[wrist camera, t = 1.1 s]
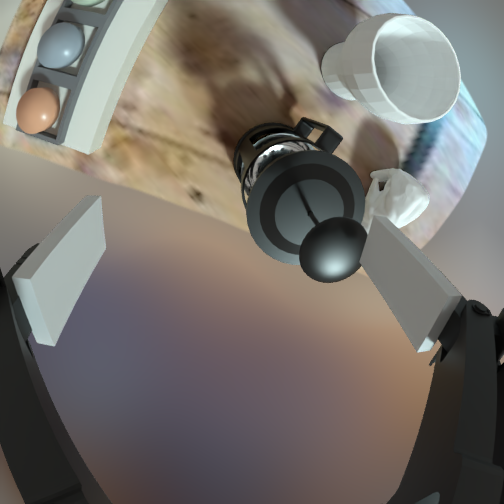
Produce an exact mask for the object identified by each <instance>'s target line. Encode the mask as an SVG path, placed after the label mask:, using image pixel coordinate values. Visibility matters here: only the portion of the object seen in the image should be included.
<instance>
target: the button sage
mask: <svg viewBox="0 0 504 504" xmlns="http://www.w3.org/2000/svg"><path fill="white" fill-rule="evenodd" d="M71 1H72V2H75V3H77V4H79V5H81V6H83V7H92V6H95V5H98V4H100V3H102V2H103V1H105V0H71Z"/></svg>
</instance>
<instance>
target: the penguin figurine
mask: <svg viewBox="0 0 504 504" xmlns="http://www.w3.org/2000/svg"><path fill="white" fill-rule="evenodd" d="M370 176H371V178H372V179H373V181H372V183H371V185H370V188H369V191H368V193H367V196H366V198H365V213H364V217H363V220H362V223H361V225H362V226H363V227H364V228H365V230H366V232H367V234H368V233H369V229H370V226H371V223H372V219H373V216H374V215H375V216H383V217H387V218H388V219H389V220H390V221H391V222H392V223H393V224H394V225H395V226H396V227H397V228H401V227H402V226H405V225H407V224H408V223H409V222H411V221H413V220H414V219H416V218H417V217H419V215H420V214H421V213H422V212H423V211H424V210H425V209H426V207H427V205H428V203H429V200H430V198H429V194H428V192H427V191H426V189H425V188H424V186H423V185H422V184H421V183H420V182H419V181H418V180H416V179H415V178H414V177H412V176H411V175H410V174H408V173H406V172H404V171H402V170H401V169H394V168H391V169H384V170H378V171H373V172H372V173H371V174H370ZM384 181H387V183H386V185H385V186H384V190H382V191H379V182H384Z"/></svg>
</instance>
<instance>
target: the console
mask: <svg viewBox="0 0 504 504" xmlns="http://www.w3.org/2000/svg"><path fill="white" fill-rule="evenodd" d="M167 2H168V0H105V1H103V2H102V3H100V4H98V5H95V6H92V7H83V6H81V5H79V4H77V3H75V2H72V1H71V0H47V2H46V4H45V6H44V8H43V10H42V12H41V14H40V17H39V19H38V21H37V23H36V25H35V27H34V30H33V32H32V34H31V37H30V39H29V42H28V44H27V47H26V49H25V52H24V54H23V57H22V60H21V63H20V65H19V68H18V71H17V74H16V77H15V80H14V84H13V87H12V90H11V94H10V97H9V101H8V105H7V109H6V113H5V117H4V121H3V124H6V125H9V126H12V127H15V128H16V130H17V131H20V132H23V133H25V132H24V131H23V130H22V129H21V128H20V127H19V125H18V123H17V119H16V109H17V105H18V102H19V100H20V98H21V97H22V95H23V94H24V93H25V92H27V91H28V90H30V89H32V88H41V87H48V88H51V89H53V90H54V91H55V92H56V93H57V95H58V97H59V100H60V113H59V116H58V118H57V120H56V122H55V123H54V125H53V126H52V127H50V128H49V129H47V130H44V131H41V132H38V133H35V134H29V135H31V136H34V137H37V138H40V139H42V140H45V141H48V142H51V143H53V144H56V145H60V144H62V145H64V146H67V147H70V148H72V149H75V150H78V151H80V152H83V153H86V154H90V153H92V152H94V151H96V150H97V149H99V148H101V145H102V142H103V139H104V136H105V133H106V131H107V128H108V125H109V122H110V120H111V117H112V114H113V112H114V109H115V107H116V104H117V102H118V99H119V97H120V94H121V92H122V90H123V87H124V85H125V83H126V81H127V78H128V76H129V74H130V72H131V69H132V67H133V65H134V63H135V61H136V59H137V57H138V55H139V53H140V51H141V49H142V47H143V45H144V43H145V41H146V39H147V37H148V35H149V33H150V32H151V30H152V28H153V26H154V24H155V22H156V21H157V19H158V17H159V15H160V14H161V12H162V10H163V9H164V7H165V5H166V4H167ZM62 22H65V23H69V24H72V25H75V26H78V27H79V28H81V29H82V31H83V32H84V34H85V46H84V49H83V52H82V54H81V55H80V57H79V58H78V59H77V60H76V61H75V62H74V63H73V64H71V65H70V66H68V67H65V68H47V67H45V66H43V65H42V64H41V63H40V62H39V60H38V57H37V47H38V43H39V41H40V39H41V37H42V35H43V34H44V33H45V32H46V31H47V30H48V29H49V28H50V27H51V26H53V25H55V24H57V23H62ZM26 134H28V133H26Z"/></svg>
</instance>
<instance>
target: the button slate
mask: <svg viewBox="0 0 504 504" xmlns="http://www.w3.org/2000/svg"><path fill="white" fill-rule="evenodd" d="M84 46H85V34H84V32H83V31H82V29H81V28H79V27H78V26H75V25H72V24H69V23H65V22H62V23H57V24H55V25H53V26H51V27H50V28H49V29H48V30H47V31H46V32H45V33H44V34H43V35H42V37H41V39H40V41H39V43H38V47H37V57H38V60H39V62H40V63H41V64H42V65H43V66H45V67H47V68H65V67H68V66H70V65H71V64H73V63H74V62H75V61H76V60H77V59H78V58H79V57H80V55H81V54H82V52H83V49H84Z"/></svg>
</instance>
